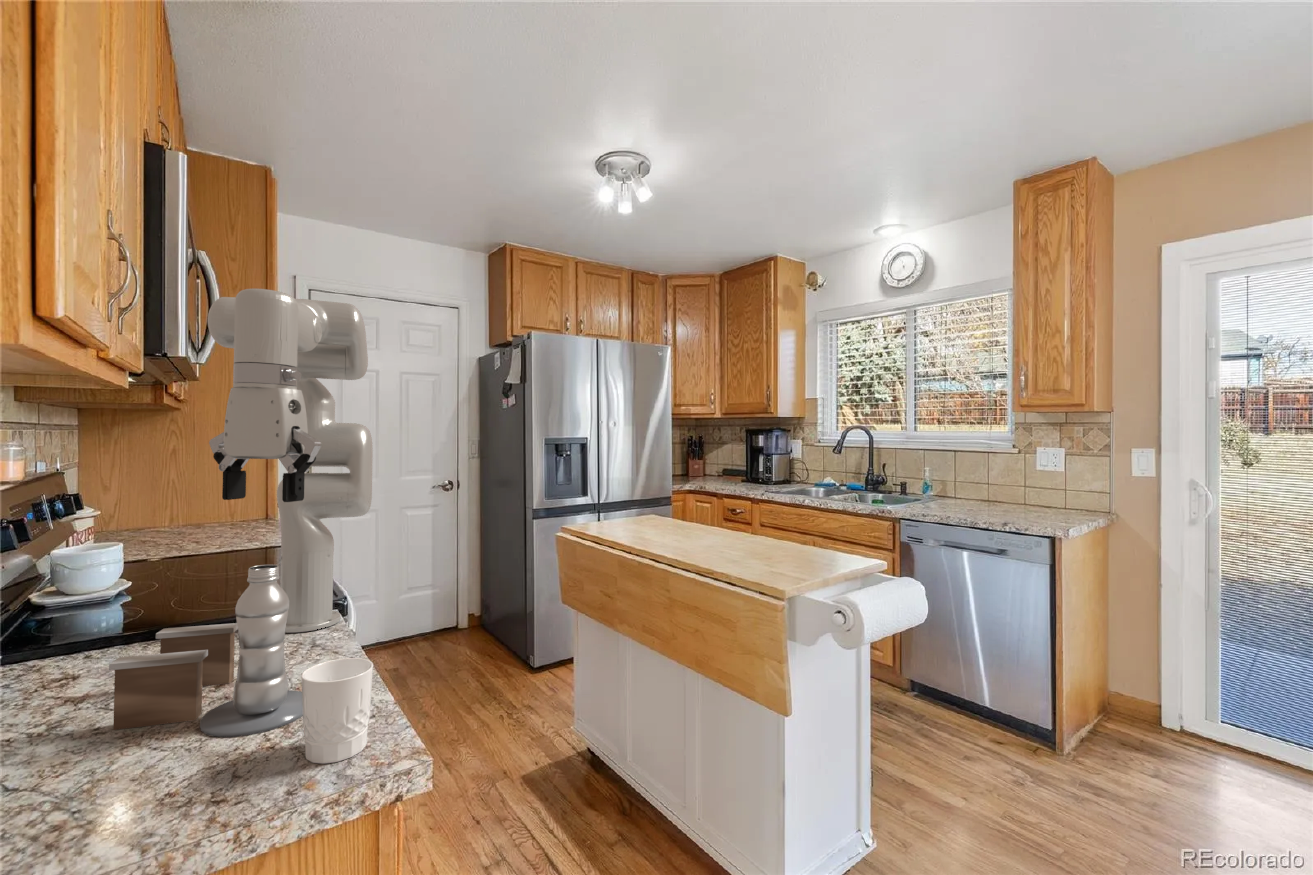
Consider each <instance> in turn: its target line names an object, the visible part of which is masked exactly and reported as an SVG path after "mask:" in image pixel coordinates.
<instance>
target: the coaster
mask: <svg viewBox="0 0 1313 875" xmlns="http://www.w3.org/2000/svg"><path fill="white" fill-rule="evenodd" d="M300 718H303V711H302V690H301V691H300V690H292V689H291V690H290V689H288V692H287V697H286V699H285V700H284V702H283V703H282V705H281V706H279V707H278V708H276V709H274V710H272V711H269V712H265V713H261V714H254V715H245V714H241V713H239V712H238V711H237V710H236V708H235V707H234V701H233V699H232V700H229V701H227V702H224V703H222V704H220V705H217V706H216V707H213V708H212V709H211V710H210V709H209V711H207V712H206V713H205V714H204V715H203V716H202V717H201V718H200V721H199V730H200V731H201V732H202V733H203V734H205V735H207V736H210V737H218V738H235V737H237V738H238V737H245V736H246V737H247V736H249V735H250V736H251V735H256V734H261V733H265V732H269V731H271V730H275V729H279V728H281V727H283V726H287V725H289V724H291V723H292V722H295V721H298V720H299V719H300Z"/></svg>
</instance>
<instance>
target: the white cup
mask: <svg viewBox="0 0 1313 875" xmlns="http://www.w3.org/2000/svg"><path fill="white" fill-rule="evenodd" d="M373 672H374V662H372V661H371V660H369V659H366V658H361V657H348V658H347V657H345V658H337V659H333V660H326V661H324V662H320V663H316V664H314V665H311V666H310V667H308V668H306V669H305V670H304V671H303V672H301V680H300V681H301V692H302V711H303V716H302V726H303V736H304V743H305V745H304V746H305V753H304V754H305V759H306V760H308V762H310V763H313V764H323V765H324V764H330V763H331V764H332V763H338V762H341V761H344V760H347V759H350V758H353V757H355V756H356V755H358V754H359V753H361V752H362V751H363V750H364V749H365V747H366V746H367V744H368V730H369V729H368V728H369V725H368V724H369V721H370V713H371V702H372V690H373V689H372V688H373V687H372V686H373V674H374V673H373Z"/></svg>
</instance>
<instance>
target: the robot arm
mask: <svg viewBox="0 0 1313 875" xmlns="http://www.w3.org/2000/svg"><path fill="white" fill-rule="evenodd" d="M207 327H208V330H209V333H210V335H211V337H212V339H213V340H214V342H215V343H217V344H218V345H219V346H221V347H223V348H227V349H233V368H232V369H233V371H232V372H233V373H232V375H233V376H232V377H233V380H232V381H233V382H232V387H231V388H230V391H229V396H228V399H227V403H226V410H225V411H226V412H225V418H224V426H223V431H222V432H221V433H219V434H218V435H216V436H214V437H213V438H211V439H210V440H209V442H208V444H209V447H210V449H211V452H212V454H213V459H214V461H215V462H216V463H217V464H218V470H219V471H220V472H222V492H221V494H222V500H224V501H230V500H239V499H242V500H243V499H245V498H246V494H247V492H246V491H247V470H243V468H244V467H245V466H246V464H247V463H248V462H249V460H250V459H252V460H253V459H254V460H279V462H280V463H281V465H283V468H284V469H285V470H286V471H287V472H283V473H282V479H281V481H280V482H279V483H278V486H277V490H276V499H277V506H278V513H279V519H280V534H281V536H280V578H279V581H280V584H279V585H280V587H281V588H282V589H283V590H284V591H285V593H286V594H287V596H288V599H289V609H288V616H287V622H286V627H285V634H287V633H288V634H289V633H292V634H293V633H304V632H310V631H317V629H318V630H321V628H322V629H326V628H329V627H332V626H334V625H336V624H337V623H339V622H340V621H341V613H340V612H338V611H334V610H333V604H334V602H333V600H334V599H333V597H334V596H333V594H334V593H333V592H334V554H335V553H334V550H335V548H334V546H335V541H334V537H333V535H332V532H331V531H330V529H329V528H328V527H326V525H325V524H324V523H323V522H322V521H321V519H332V518H333V519H337V518H339V519H340V518H355V517H361V516H365V515H366V514H368V513H369V511H370V509H371V506H372V498H373V451H374V450H373V438H372V435H371V431H370V430H369V428H368V427H367V426H366V425H364V424H360V423H354V422H353V423H352V422H350V423H349V422H336V419H335V418H336V414H335V413H336V401H335V400H336V399H335V398H334V396H333V394H332V393H331V392H330V390H328V388H327V387H326V386H325V385H324V384H323V383H322V382H320V381H319V380H318V379H324V380H341V381H343V380H344V381H345V380H346V381H355V380H361V379H362V378H364V376H365V375H366V373H367V370H368V366H369V355H368V347H367V346H368V345H367V333H366V324H365V321H364V318H363V315H362V314H361V312H360V310H359V308H357V307H356V305H353V304H351V303H348V302H347V303H346V302H337V301H336V302H335V301H328V300H327V301H326V300H317V299H309V298H307V299H304V298H294V296H292V295H290V294H287V293H285V292H282V291H278V290H274V289H266V288H246V289H241V290H240V291H239V292H237V294H236V296H234V297H231V296H221V297H218V298H217V299H216V300H214V302H213V303H212V304H211V306H210V308H209V311H208V314H207ZM310 467H315V468H316V467H317V468H320V467H323V468H326V467H332V468H342V467H343V468H347V469H348V470H349V472H330V473H329V472H309V471H310ZM325 627H326V628H325Z"/></svg>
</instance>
